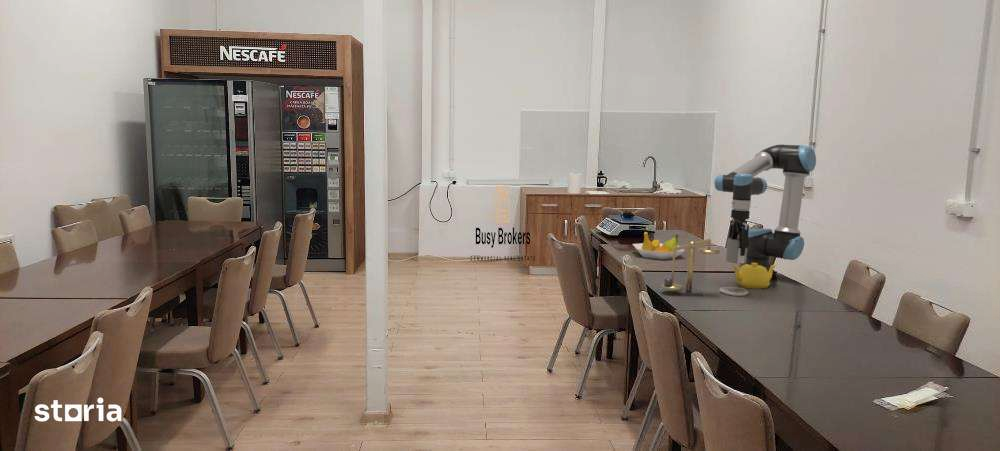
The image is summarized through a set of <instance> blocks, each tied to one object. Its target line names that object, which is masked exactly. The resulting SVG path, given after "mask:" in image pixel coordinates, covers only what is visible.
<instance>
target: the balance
mask: <svg viewBox="0 0 1000 451" xmlns="http://www.w3.org/2000/svg"><path fill="white" fill-rule="evenodd" d="M711 242H712V239H711V238H707V239H703V240H699V241H693V240H692V241H689V242H688V244H683V245H678V246H679V247H675V248H673V259H672V263H671V264H672V266H671V268H672V269H671V278H664V283H662V284H660V286H661V288H662V289H664V290H670V291H674V292H675V293H676V294H677V295H678V296H683V297H684V296H685V297H687V296H689V297H690V296H691V297H692V296H693V297H696V296H698V297H699V296H700V297H701V296H702V297H703V296H704V292H703V291H700V290H699V289H698V288H696V287H695V288H693V277H694V265H695V264H694V262H695V249H696V246H700V245H704V244H708V246H707V247H699V248H697V252H698V253H701V254H706V255H718V254H720V252H721V250H720V249H718V248H712V247H711ZM682 249H684V250H686V249H688V253H687V270H686V272H687V273H686V281H685V282H686V286H685V287H683V285H682V284H680V283H674V278H675V277H674V276H675V275H674V274H675V263H676V262H675V260H676V258H675V251H678V250H682Z"/></svg>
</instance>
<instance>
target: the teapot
mask: <svg viewBox="0 0 1000 451" xmlns="http://www.w3.org/2000/svg"><path fill="white" fill-rule="evenodd" d="M751 264H752V265H748V264H745V265H743V266H742V267H741V266H740V268H741V269H740V268H739V267H738V266H737V264H735V263H731V266H733V268H734V277H735V279H736V282H737V284H738V285H739V286H740V287H742V288H745V289H751V290H752V289H756V290H758V289H761V288H764V289H767V288H768V287H769V286H770V284H771V283H770V281H771V279H772V277H773V272H774V269H775V267H776V266H778V264H772V265H771V267H770V269H769V271H767V269H766V268H765V267H763V266H760V265H758V263H751ZM761 290H762V289H761Z"/></svg>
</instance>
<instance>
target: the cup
mask: <svg viewBox="0 0 1000 451" xmlns="http://www.w3.org/2000/svg"><path fill="white" fill-rule="evenodd" d="M726 245H727V246H726V257H725V258H726V259H725V261H726V262H727V263H731V264H741V265H742V263H737V262H738V250H739V248H738V247H740V244H739V237H737V239H732V238H728V237H727V244H726ZM746 259H747V248H745V259H744V263H746Z"/></svg>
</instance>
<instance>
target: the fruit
mask: <svg viewBox="0 0 1000 451" xmlns="http://www.w3.org/2000/svg"><path fill="white" fill-rule="evenodd" d="M643 237H644V238H643V242H642V243H632V246H633V247H634V248H635V250H637V252H638V253H639V254H640V256H642V257H643V258H646V259H655V260H660V261H661V260H670V259H672V260H673V248H675V247H679V246H680V245H679V240H678V239H679V237H680V235H679V234H676V235H675V237H671V238H670V239H669V240H666V241H664V242H663V243H661V242H660V239H655V240H652V241H651V240H650V237H649V232H647V231H644V233H643ZM685 250H686V249H682V250H678V251H675V259H677V258H678V257H679V256H680V255H681V254H683V253H684V252H685Z"/></svg>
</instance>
